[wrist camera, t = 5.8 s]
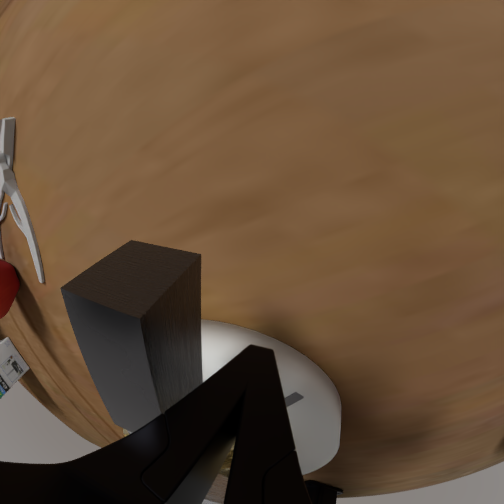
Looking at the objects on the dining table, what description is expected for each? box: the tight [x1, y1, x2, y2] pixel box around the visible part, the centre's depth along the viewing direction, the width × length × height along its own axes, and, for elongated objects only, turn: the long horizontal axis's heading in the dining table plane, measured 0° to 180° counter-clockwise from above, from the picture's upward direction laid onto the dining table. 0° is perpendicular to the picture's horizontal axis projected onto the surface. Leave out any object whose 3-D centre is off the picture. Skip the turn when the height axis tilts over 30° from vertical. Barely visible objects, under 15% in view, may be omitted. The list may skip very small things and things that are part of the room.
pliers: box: [0, 117, 45, 283], centre depth 18 cm, size 10×2×15 cm
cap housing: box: [201, 319, 342, 475], centre depth 19 cm, size 18×18×3 cm
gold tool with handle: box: [61, 240, 296, 504], centre depth 12 cm, size 23×12×7 cm, turn 175°
